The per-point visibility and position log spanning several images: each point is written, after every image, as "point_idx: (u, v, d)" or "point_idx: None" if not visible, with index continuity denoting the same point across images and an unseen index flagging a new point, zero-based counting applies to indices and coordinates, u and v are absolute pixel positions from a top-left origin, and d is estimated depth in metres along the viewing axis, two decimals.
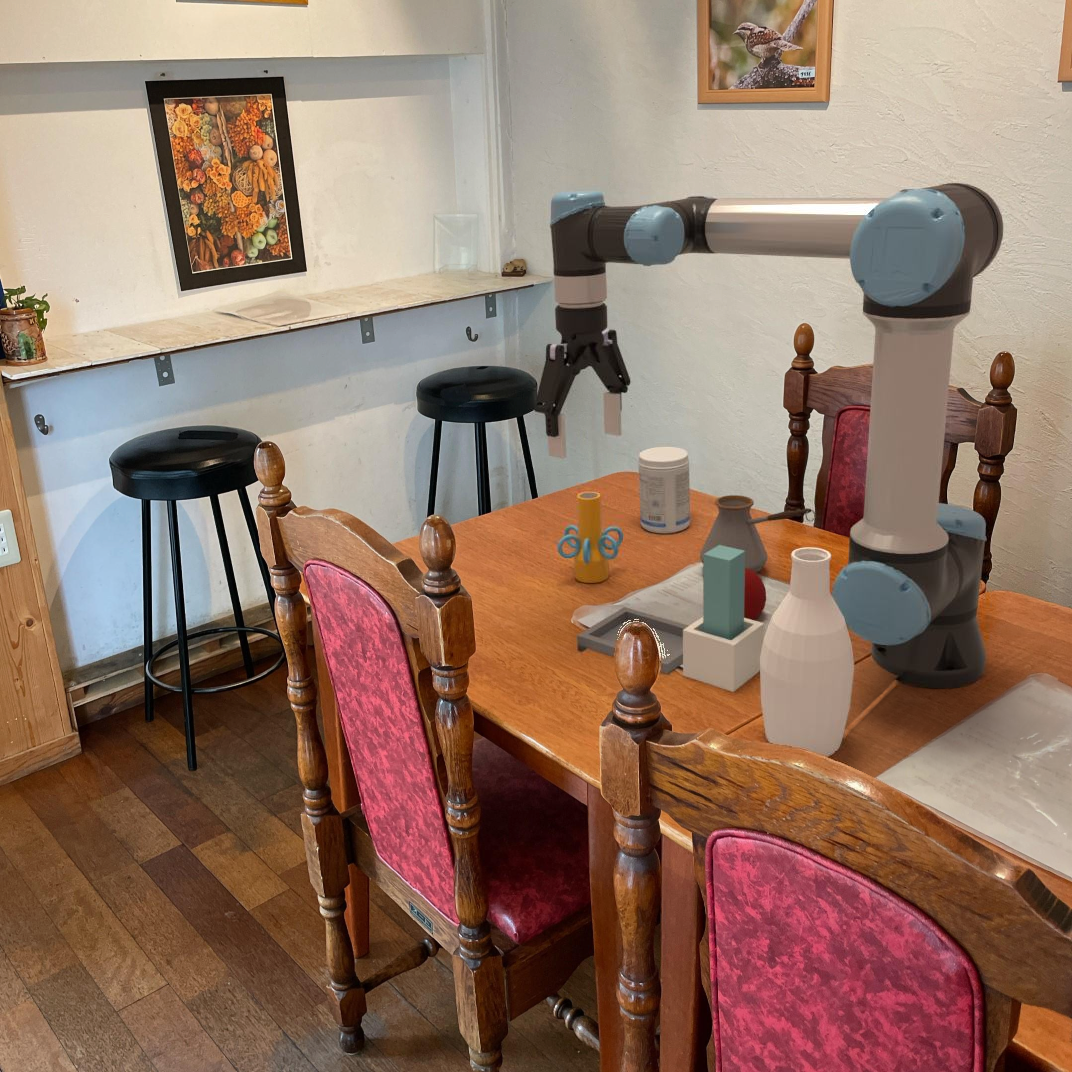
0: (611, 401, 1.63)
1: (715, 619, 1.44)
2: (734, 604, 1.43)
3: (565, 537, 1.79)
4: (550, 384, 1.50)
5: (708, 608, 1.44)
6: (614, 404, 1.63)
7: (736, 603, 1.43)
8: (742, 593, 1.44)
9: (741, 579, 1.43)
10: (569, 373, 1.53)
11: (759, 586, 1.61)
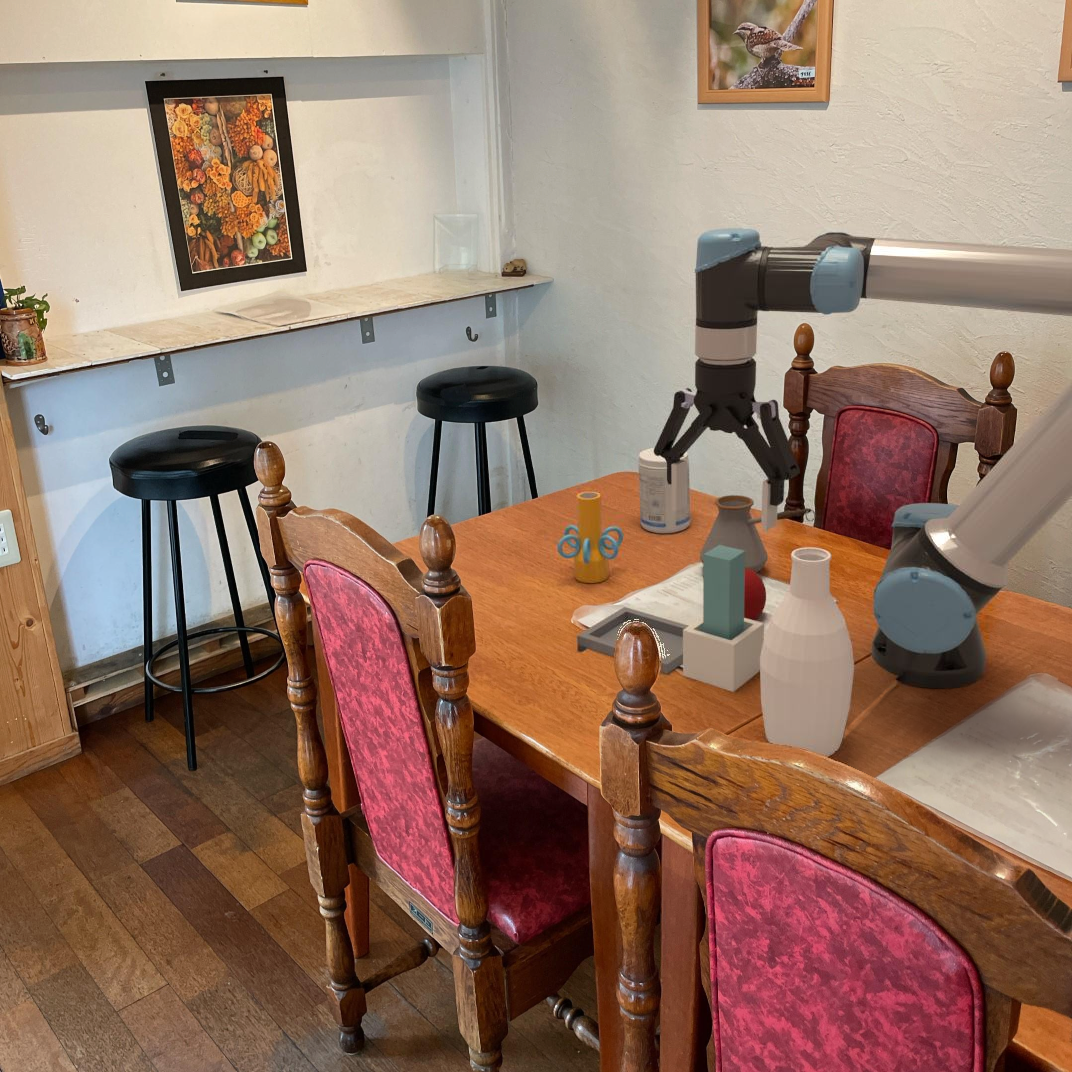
0: None
1: (715, 619, 1.44)
2: (734, 604, 1.43)
3: (565, 537, 1.79)
4: None
5: (708, 608, 1.44)
6: None
7: (736, 603, 1.43)
8: (742, 593, 1.44)
9: (741, 579, 1.43)
10: None
11: (759, 586, 1.61)
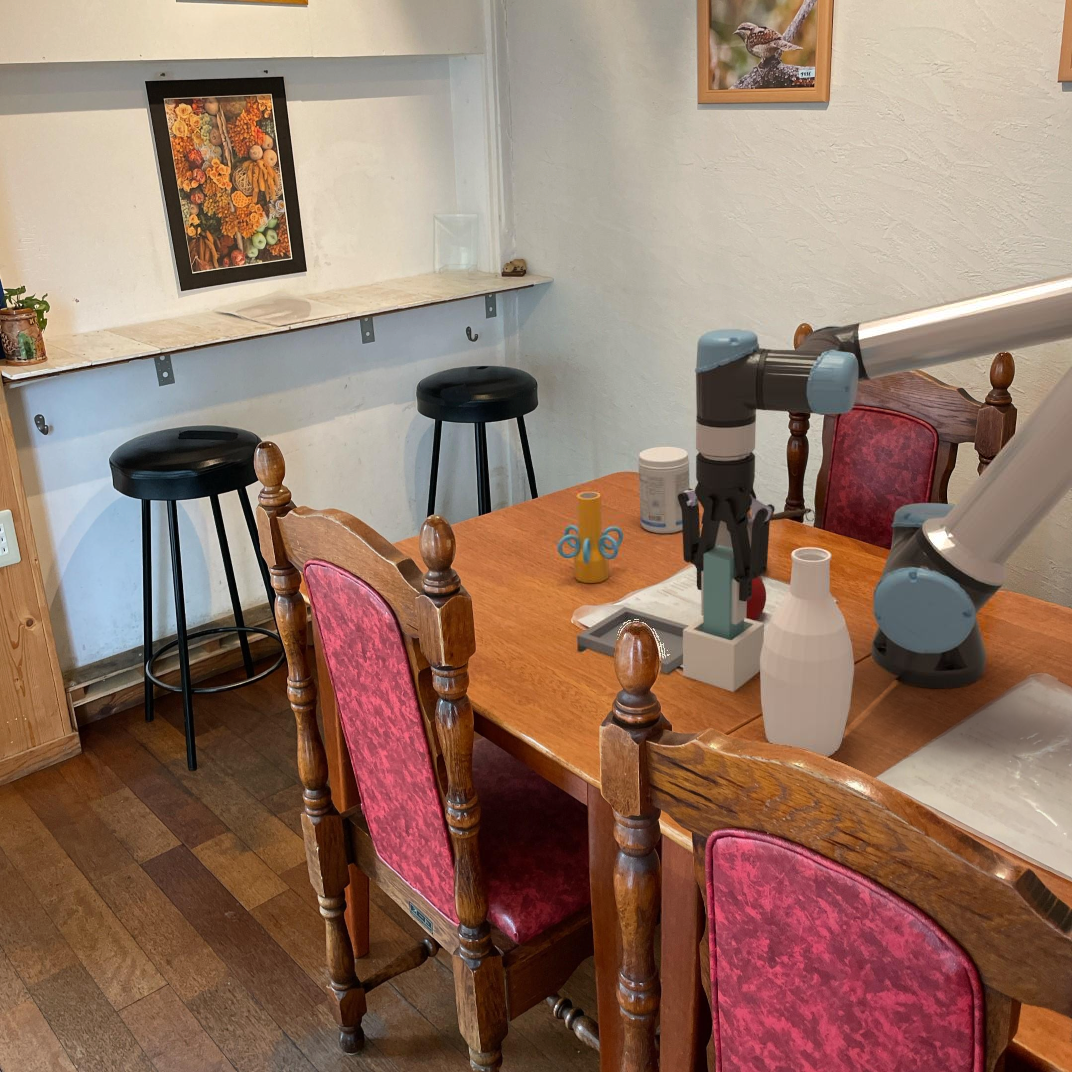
0: None
1: (715, 619, 1.44)
2: None
3: (565, 537, 1.79)
4: None
5: (708, 608, 1.44)
6: None
7: None
8: None
9: None
10: (703, 526, 1.42)
11: (759, 586, 1.61)
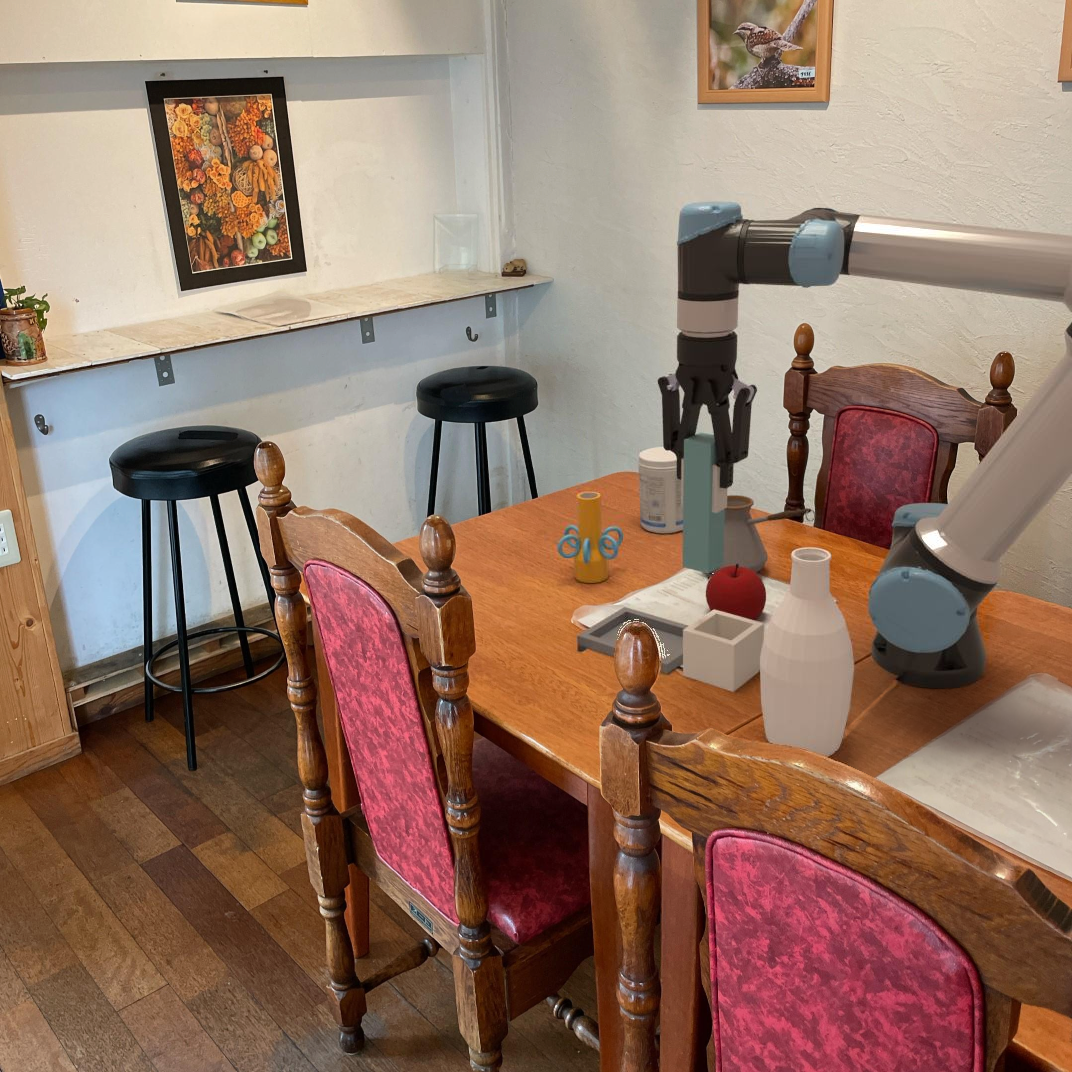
0: None
1: (695, 508, 1.40)
2: None
3: (565, 537, 1.79)
4: None
5: (688, 497, 1.40)
6: None
7: None
8: None
9: None
10: None
11: (759, 586, 1.61)
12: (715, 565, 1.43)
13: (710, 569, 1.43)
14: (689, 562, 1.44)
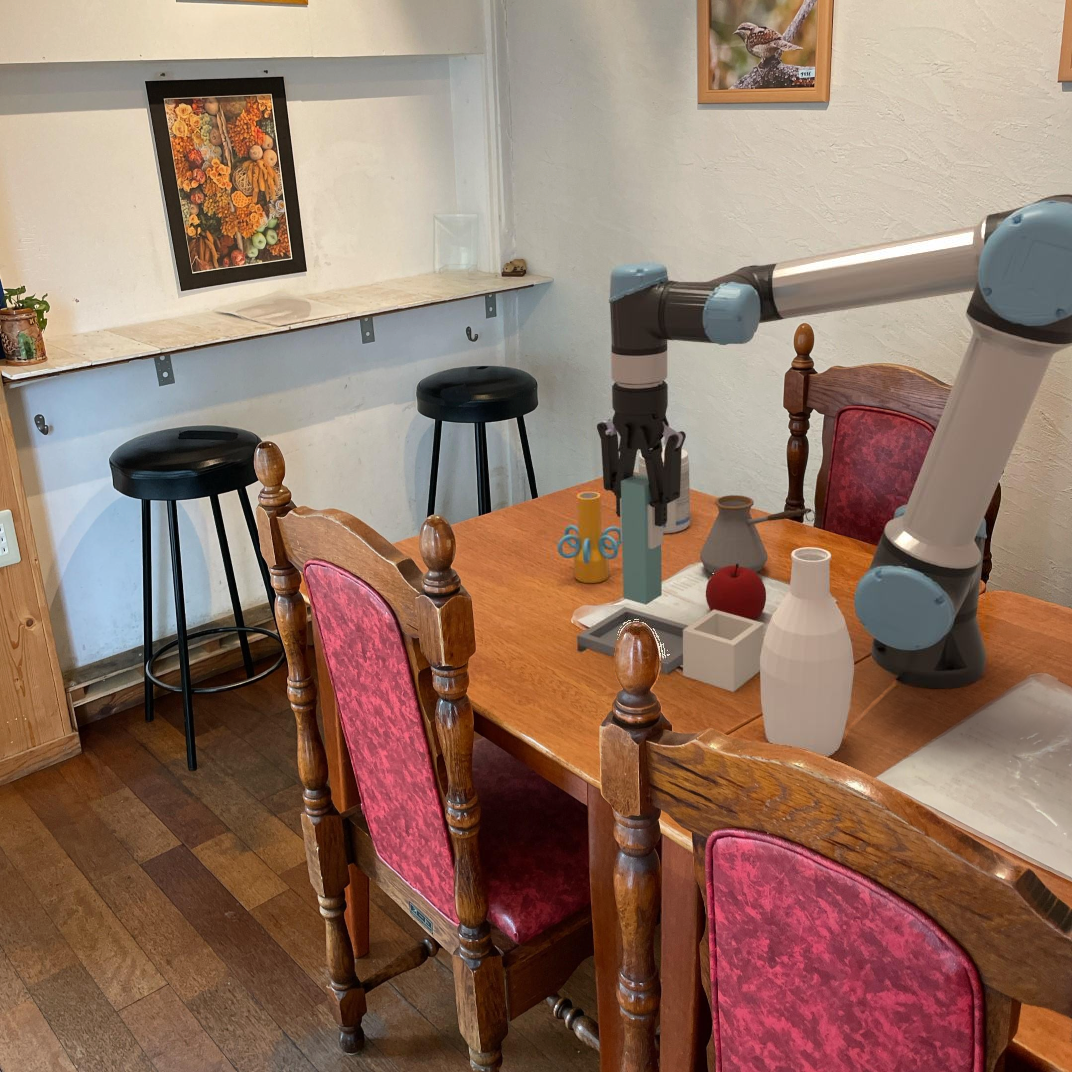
0: None
1: (633, 544, 1.50)
2: None
3: (565, 537, 1.79)
4: None
5: (626, 533, 1.51)
6: None
7: None
8: None
9: None
10: None
11: (759, 586, 1.61)
12: (653, 597, 1.54)
13: (648, 600, 1.53)
14: (629, 593, 1.54)
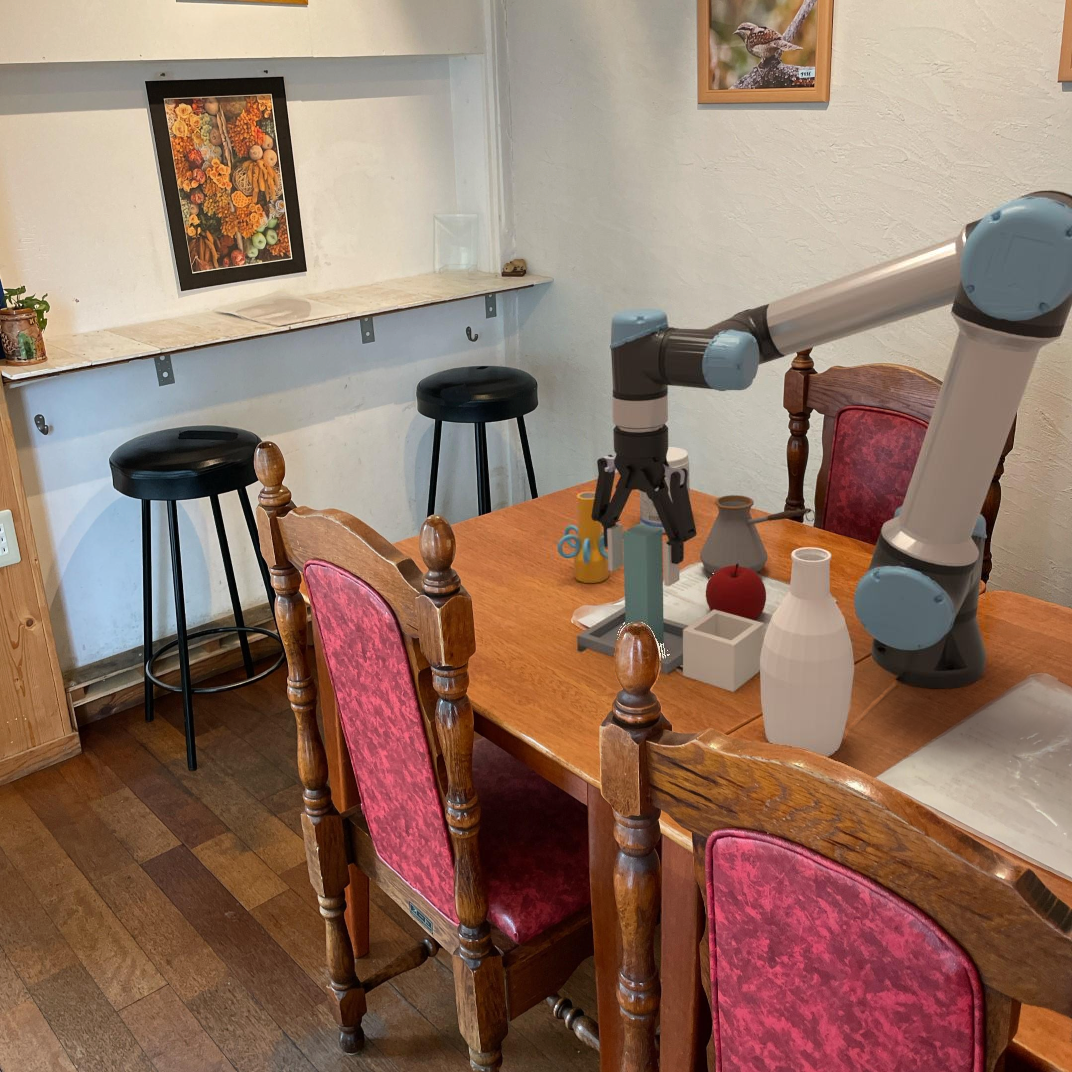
0: None
1: (635, 593, 1.53)
2: (653, 579, 1.52)
3: (565, 537, 1.79)
4: None
5: (628, 583, 1.53)
6: None
7: (655, 577, 1.52)
8: (660, 568, 1.53)
9: (659, 555, 1.52)
10: (616, 490, 1.51)
11: (759, 586, 1.61)
12: None
13: None
14: None
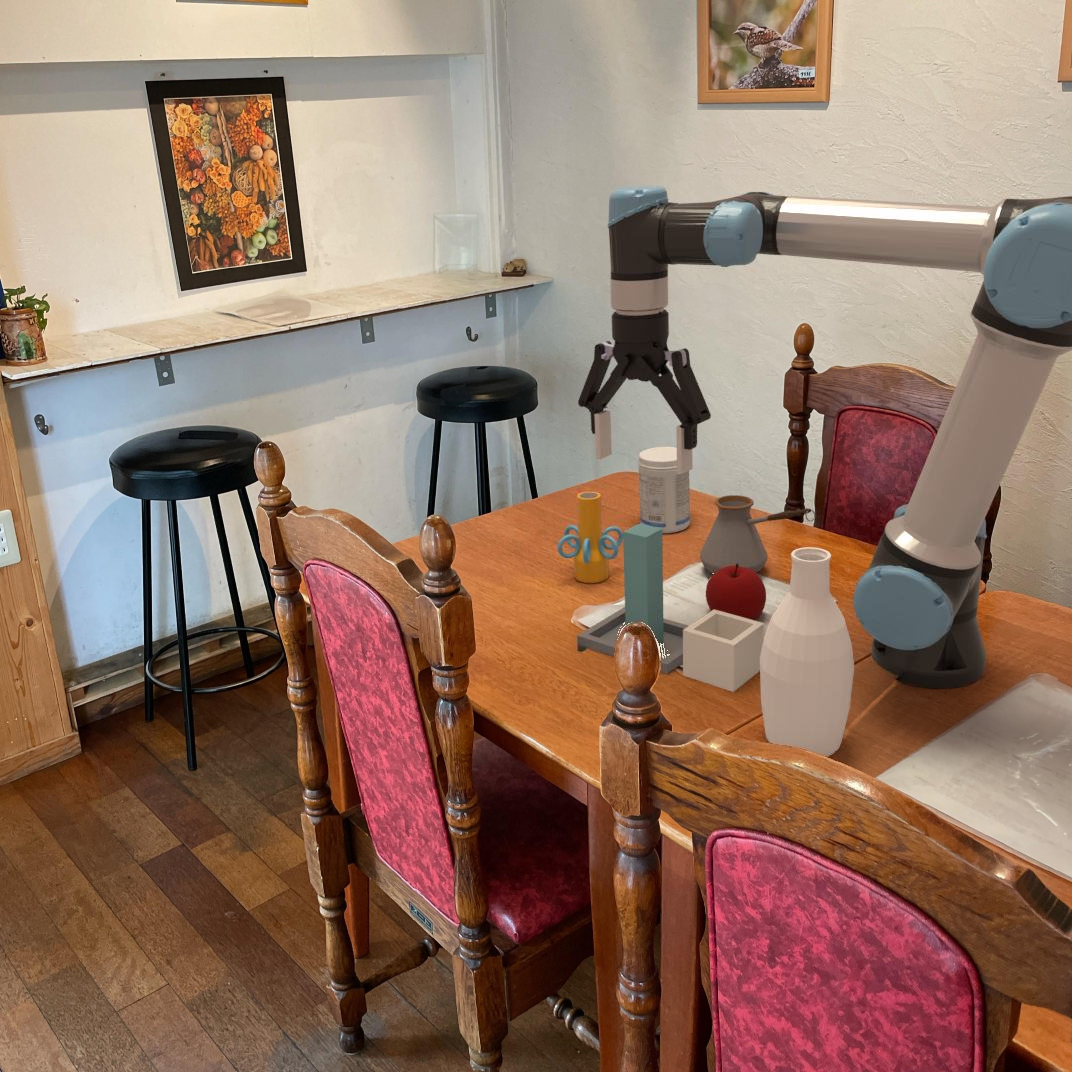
0: None
1: (635, 593, 1.53)
2: (653, 579, 1.52)
3: (565, 537, 1.79)
4: None
5: (628, 583, 1.53)
6: None
7: (655, 577, 1.52)
8: (660, 568, 1.53)
9: (659, 555, 1.52)
10: (610, 377, 1.46)
11: (759, 586, 1.61)
12: None
13: None
14: None
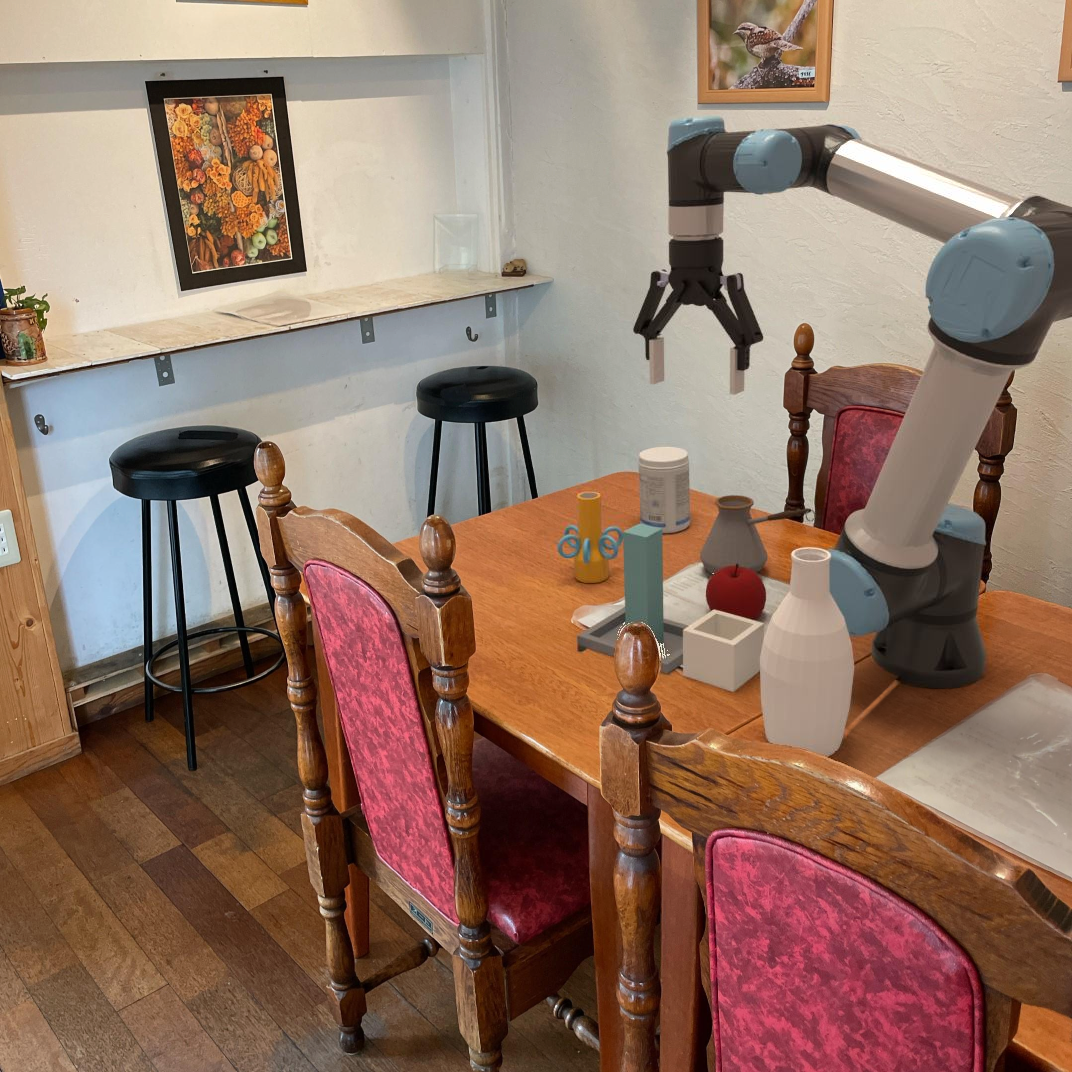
0: None
1: (635, 593, 1.53)
2: (653, 579, 1.52)
3: (565, 537, 1.79)
4: None
5: (628, 583, 1.53)
6: None
7: (655, 577, 1.52)
8: (660, 568, 1.53)
9: (659, 555, 1.52)
10: (665, 303, 1.52)
11: (759, 586, 1.61)
12: None
13: None
14: None
